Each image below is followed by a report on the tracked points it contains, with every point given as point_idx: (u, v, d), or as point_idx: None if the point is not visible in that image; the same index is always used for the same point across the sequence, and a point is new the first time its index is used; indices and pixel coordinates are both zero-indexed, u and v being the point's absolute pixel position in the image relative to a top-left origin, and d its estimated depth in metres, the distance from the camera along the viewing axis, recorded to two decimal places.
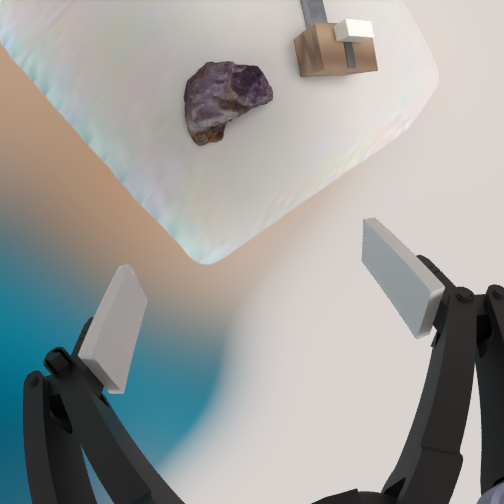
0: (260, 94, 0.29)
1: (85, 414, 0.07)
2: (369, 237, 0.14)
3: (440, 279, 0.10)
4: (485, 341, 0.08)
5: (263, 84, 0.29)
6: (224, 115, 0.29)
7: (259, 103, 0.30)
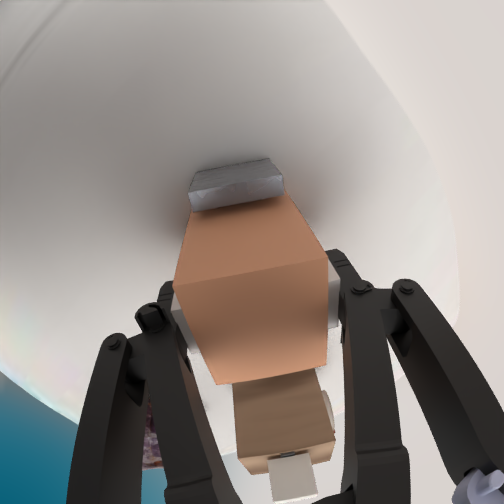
0: None
1: (166, 378, 0.08)
2: None
3: (347, 272, 0.12)
4: (404, 337, 0.10)
5: None
6: None
7: None
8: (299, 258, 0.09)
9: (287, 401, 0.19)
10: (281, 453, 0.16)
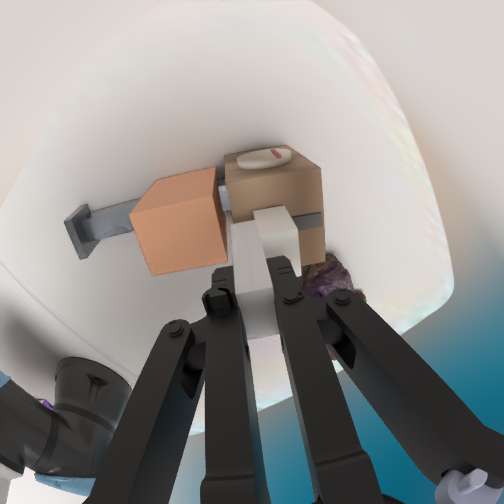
0: None
1: (226, 365, 0.08)
2: None
3: (287, 280, 0.12)
4: (348, 348, 0.10)
5: (332, 290, 0.27)
6: None
7: None
8: (133, 224, 0.19)
9: None
10: None
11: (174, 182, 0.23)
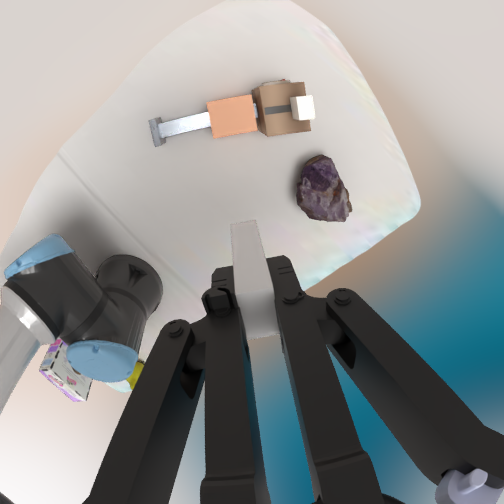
0: (330, 170, 0.41)
1: (226, 365, 0.08)
2: None
3: (288, 279, 0.12)
4: (348, 348, 0.10)
5: (321, 166, 0.41)
6: (343, 198, 0.43)
7: (336, 171, 0.42)
8: (207, 108, 0.33)
9: (258, 106, 0.36)
10: (264, 114, 0.33)
11: None
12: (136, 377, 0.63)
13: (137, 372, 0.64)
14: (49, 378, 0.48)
